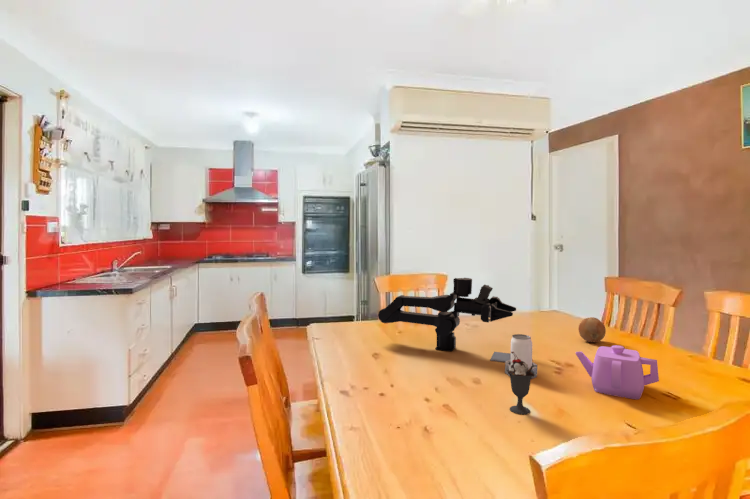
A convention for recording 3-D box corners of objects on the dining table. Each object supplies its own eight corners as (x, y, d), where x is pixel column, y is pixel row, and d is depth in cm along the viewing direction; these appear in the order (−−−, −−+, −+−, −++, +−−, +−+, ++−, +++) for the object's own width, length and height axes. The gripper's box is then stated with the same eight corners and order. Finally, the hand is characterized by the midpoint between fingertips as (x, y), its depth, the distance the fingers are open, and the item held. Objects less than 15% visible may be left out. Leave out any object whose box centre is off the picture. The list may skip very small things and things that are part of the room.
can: (533, 377, 128) (534, 339, 127) (511, 376, 129) (512, 338, 129) (530, 370, 134) (530, 334, 134) (509, 369, 136) (509, 333, 135)
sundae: (501, 405, 109) (502, 349, 108) (526, 404, 109) (527, 348, 108) (512, 416, 102) (513, 357, 101) (538, 415, 103) (539, 356, 102)
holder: (503, 376, 129) (503, 366, 129) (507, 366, 138) (507, 357, 138) (536, 380, 126) (536, 371, 125) (537, 370, 134) (538, 361, 134)
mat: (490, 360, 145) (490, 359, 145) (494, 352, 154) (494, 351, 154) (520, 364, 140) (520, 363, 140) (522, 355, 150) (522, 354, 150)
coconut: (598, 338, 172) (599, 314, 171) (610, 345, 162) (610, 320, 161) (574, 338, 172) (574, 314, 172) (584, 345, 163) (584, 320, 162)
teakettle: (616, 403, 109) (617, 357, 109) (571, 380, 126) (572, 340, 125) (667, 396, 114) (669, 352, 113) (617, 375, 130) (618, 336, 129)
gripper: (465, 288, 145) (512, 293, 138) (477, 281, 162) (519, 285, 155) (464, 319, 146) (510, 325, 139) (475, 309, 163) (517, 314, 156)
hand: (514, 311), depth 147 cm, fingers open, 9 cm apart
